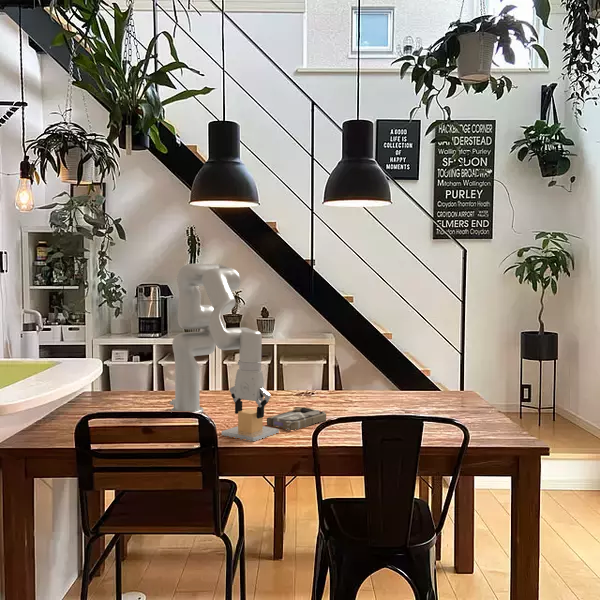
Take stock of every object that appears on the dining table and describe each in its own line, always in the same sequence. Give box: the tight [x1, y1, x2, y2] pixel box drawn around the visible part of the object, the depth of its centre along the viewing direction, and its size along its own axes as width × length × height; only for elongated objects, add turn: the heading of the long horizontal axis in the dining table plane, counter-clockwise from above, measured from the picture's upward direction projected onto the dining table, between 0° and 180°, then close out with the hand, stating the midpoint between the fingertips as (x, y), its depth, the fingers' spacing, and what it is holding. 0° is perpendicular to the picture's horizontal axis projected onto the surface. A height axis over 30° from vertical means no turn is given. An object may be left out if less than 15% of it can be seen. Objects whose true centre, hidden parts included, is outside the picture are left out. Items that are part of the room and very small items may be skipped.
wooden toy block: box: [237, 408, 264, 433], centre depth 229 cm, size 6×6×6 cm
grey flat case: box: [266, 406, 327, 431], centre depth 248 cm, size 4×24×15 cm
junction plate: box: [221, 425, 280, 442], centre depth 229 cm, size 14×14×6 cm
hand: (249, 415), depth 229 cm, fingers open, 9 cm apart
